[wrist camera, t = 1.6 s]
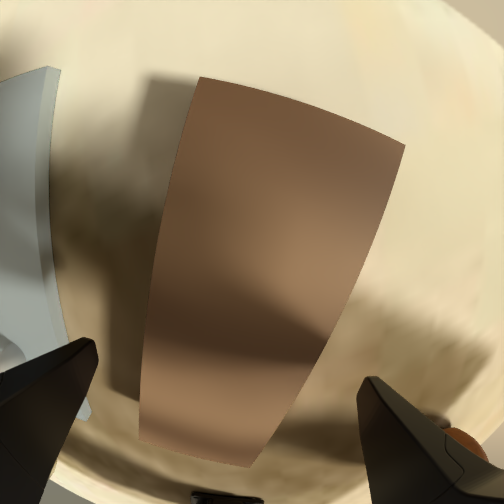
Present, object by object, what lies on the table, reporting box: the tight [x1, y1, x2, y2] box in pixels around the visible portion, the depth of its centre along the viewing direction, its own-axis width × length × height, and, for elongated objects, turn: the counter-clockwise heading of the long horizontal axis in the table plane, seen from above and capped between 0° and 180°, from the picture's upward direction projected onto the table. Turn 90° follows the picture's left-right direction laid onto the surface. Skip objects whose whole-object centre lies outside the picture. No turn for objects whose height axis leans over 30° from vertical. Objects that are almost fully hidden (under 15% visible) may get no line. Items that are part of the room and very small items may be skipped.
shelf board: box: [139, 77, 405, 468], centre depth 11 cm, size 16×6×3 cm, turn 164°
